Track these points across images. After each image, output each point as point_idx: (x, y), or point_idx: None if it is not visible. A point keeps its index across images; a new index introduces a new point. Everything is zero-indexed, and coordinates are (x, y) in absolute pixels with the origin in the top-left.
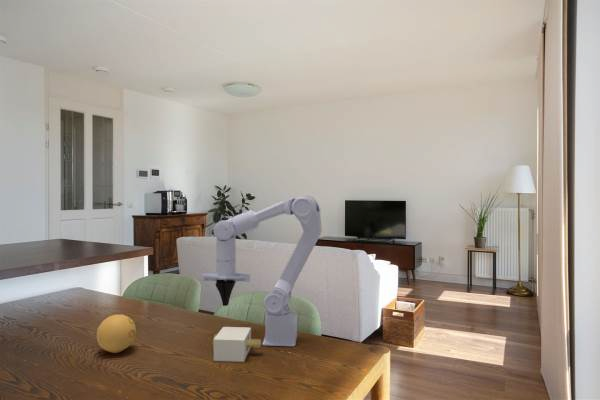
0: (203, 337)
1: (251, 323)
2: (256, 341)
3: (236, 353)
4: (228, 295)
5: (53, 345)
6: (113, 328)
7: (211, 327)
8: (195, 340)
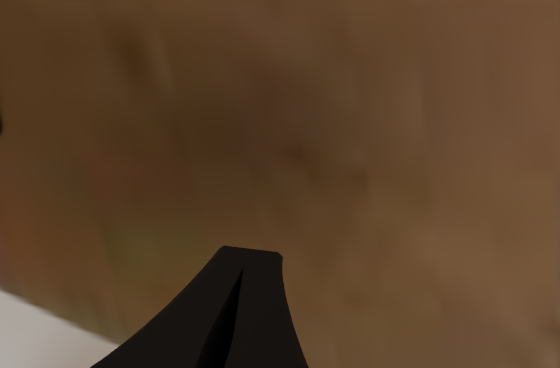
0: (461, 134)
1: None
2: None
3: None
4: (143, 329)
5: None
6: None
7: (417, 315)
8: (525, 71)
